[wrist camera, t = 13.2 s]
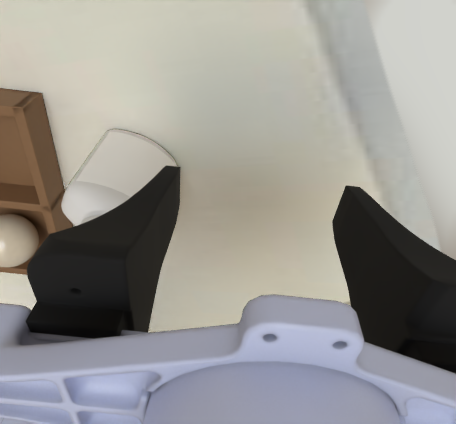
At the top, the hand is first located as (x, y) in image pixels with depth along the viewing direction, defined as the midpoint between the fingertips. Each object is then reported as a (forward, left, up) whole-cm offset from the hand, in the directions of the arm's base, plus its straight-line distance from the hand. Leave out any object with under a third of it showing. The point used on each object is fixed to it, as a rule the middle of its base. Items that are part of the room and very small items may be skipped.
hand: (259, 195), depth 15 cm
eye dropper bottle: (-5, +8, -11) cm, 14 cm away
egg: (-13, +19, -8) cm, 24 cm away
